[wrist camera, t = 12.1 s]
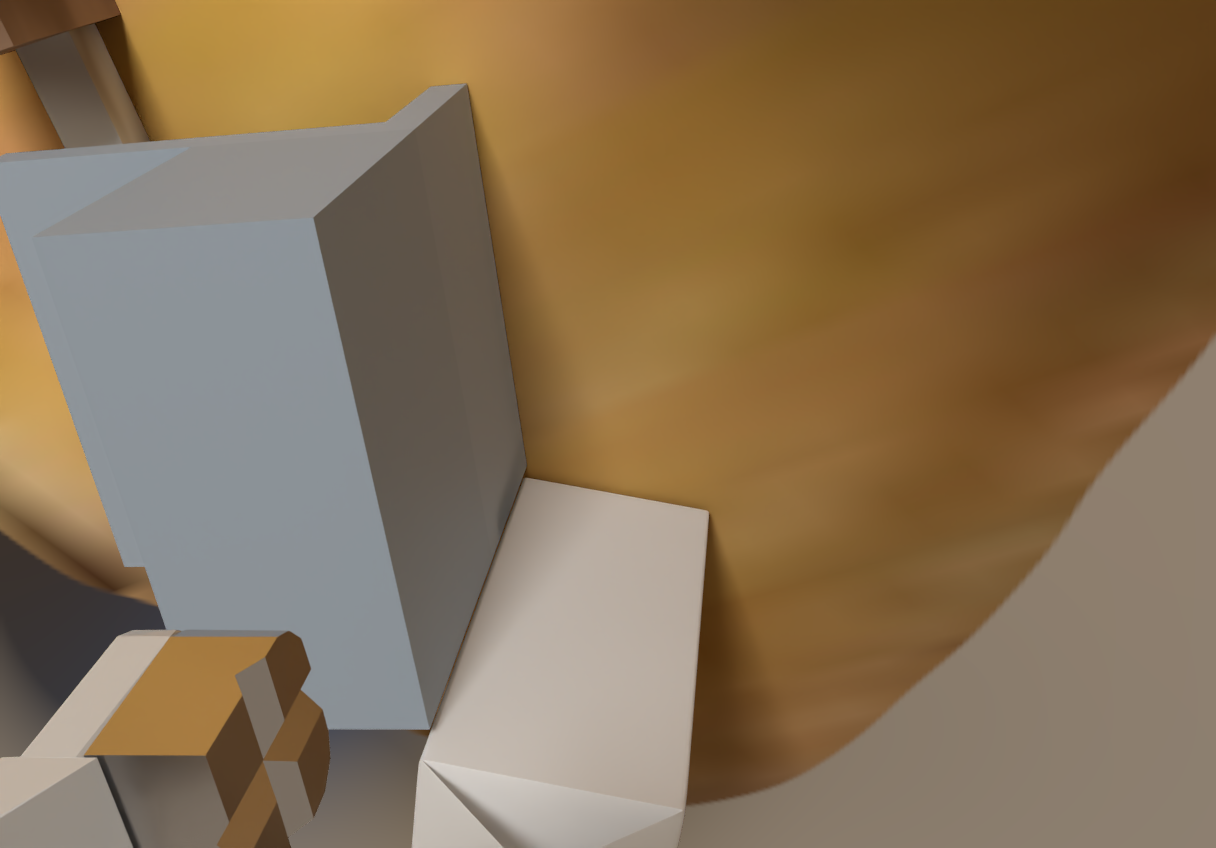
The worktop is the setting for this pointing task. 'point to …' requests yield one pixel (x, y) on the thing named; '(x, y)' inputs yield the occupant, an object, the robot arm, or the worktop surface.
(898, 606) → the worktop surface
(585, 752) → the milk carton
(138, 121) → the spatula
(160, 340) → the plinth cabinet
